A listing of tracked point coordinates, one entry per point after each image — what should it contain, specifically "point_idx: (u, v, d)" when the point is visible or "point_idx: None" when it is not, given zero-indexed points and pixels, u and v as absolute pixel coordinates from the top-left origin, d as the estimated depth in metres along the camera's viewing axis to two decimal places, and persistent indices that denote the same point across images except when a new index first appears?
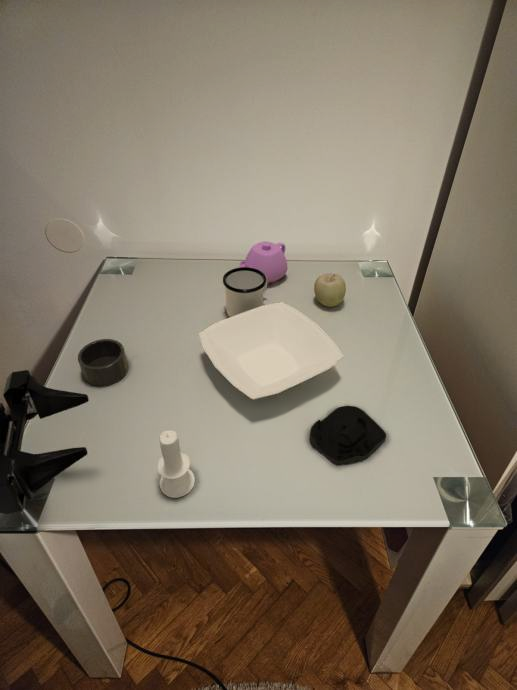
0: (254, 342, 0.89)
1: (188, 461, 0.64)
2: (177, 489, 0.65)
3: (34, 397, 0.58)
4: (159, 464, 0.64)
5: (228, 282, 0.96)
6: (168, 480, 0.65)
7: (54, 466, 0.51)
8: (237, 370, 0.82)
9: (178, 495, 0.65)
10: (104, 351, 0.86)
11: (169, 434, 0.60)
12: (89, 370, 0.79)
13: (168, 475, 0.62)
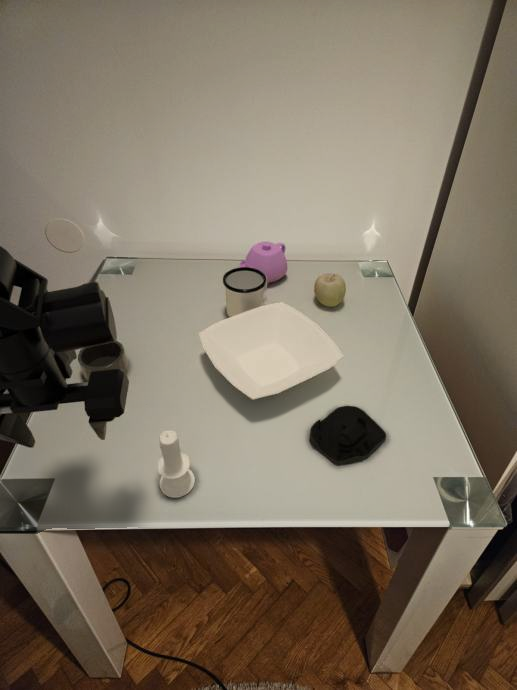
0: (254, 342, 0.89)
1: (188, 461, 0.64)
2: (177, 489, 0.65)
3: None
4: (159, 464, 0.64)
5: (228, 282, 0.96)
6: (168, 480, 0.65)
7: None
8: (237, 370, 0.82)
9: (178, 495, 0.65)
10: (104, 351, 0.86)
11: (169, 434, 0.60)
12: (89, 370, 0.79)
13: (168, 475, 0.62)
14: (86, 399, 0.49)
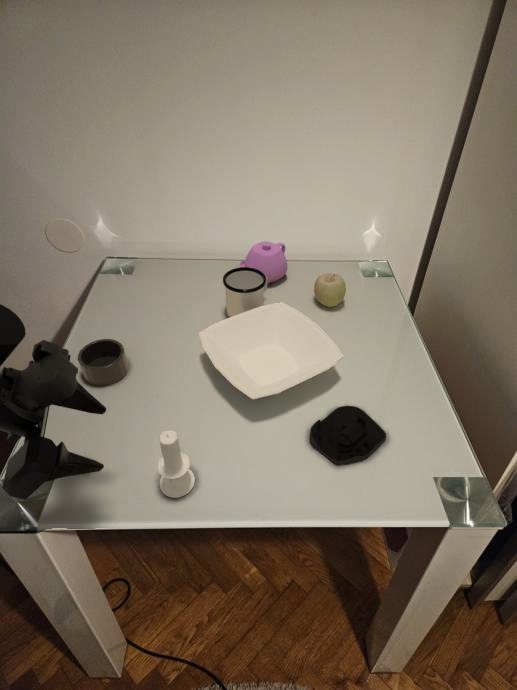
0: (254, 342, 0.89)
1: (188, 461, 0.64)
2: (177, 489, 0.65)
3: None
4: (159, 464, 0.64)
5: (228, 282, 0.96)
6: (168, 480, 0.65)
7: (72, 469, 0.50)
8: (237, 370, 0.82)
9: (178, 495, 0.65)
10: (104, 351, 0.86)
11: (169, 434, 0.60)
12: (89, 370, 0.79)
13: (168, 475, 0.62)
14: (8, 462, 0.47)
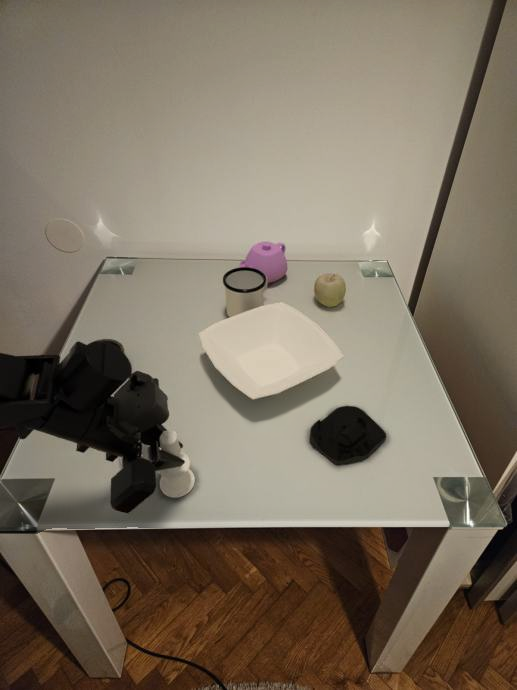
0: (254, 342, 0.89)
1: (188, 461, 0.64)
2: (177, 489, 0.65)
3: None
4: None
5: (228, 282, 0.96)
6: (168, 480, 0.65)
7: (161, 464, 0.59)
8: (237, 370, 0.82)
9: (178, 495, 0.65)
10: None
11: (169, 434, 0.60)
12: None
13: (168, 475, 0.62)
14: (111, 480, 0.54)
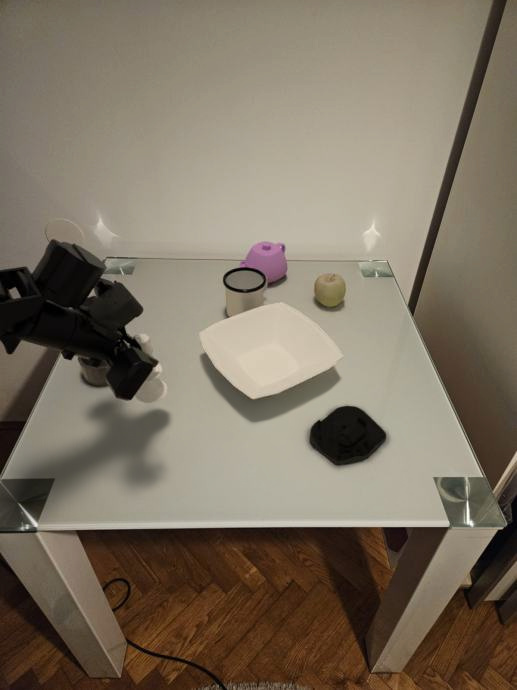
0: (254, 342, 0.89)
1: (159, 365, 0.70)
2: (155, 393, 0.70)
3: None
4: None
5: (228, 282, 0.96)
6: (144, 388, 0.70)
7: None
8: (237, 370, 0.82)
9: (157, 399, 0.70)
10: None
11: (140, 336, 0.65)
12: (89, 370, 0.79)
13: None
14: (105, 377, 0.57)
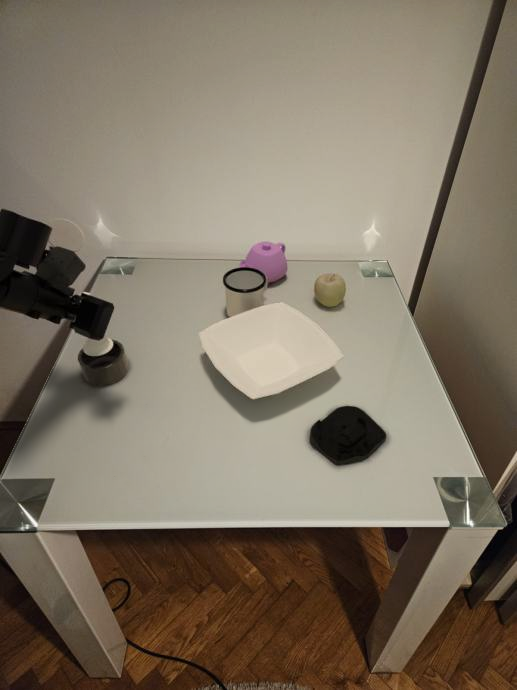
0: (254, 342, 0.89)
1: None
2: (105, 345, 0.79)
3: None
4: None
5: (228, 282, 0.96)
6: (94, 343, 0.78)
7: None
8: (237, 370, 0.82)
9: (108, 349, 0.80)
10: None
11: None
12: (89, 370, 0.79)
13: None
14: (73, 326, 0.66)
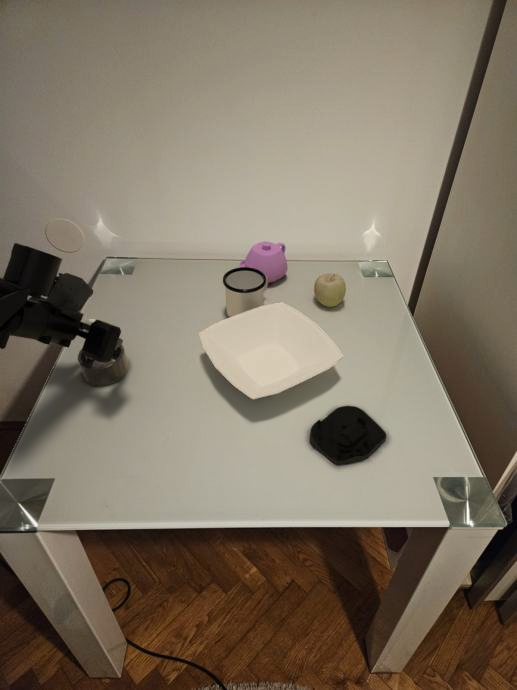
0: (254, 342, 0.89)
1: None
2: None
3: None
4: None
5: (228, 282, 0.96)
6: None
7: None
8: (237, 370, 0.82)
9: None
10: None
11: (89, 321, 0.77)
12: (89, 370, 0.79)
13: None
14: (82, 350, 0.69)
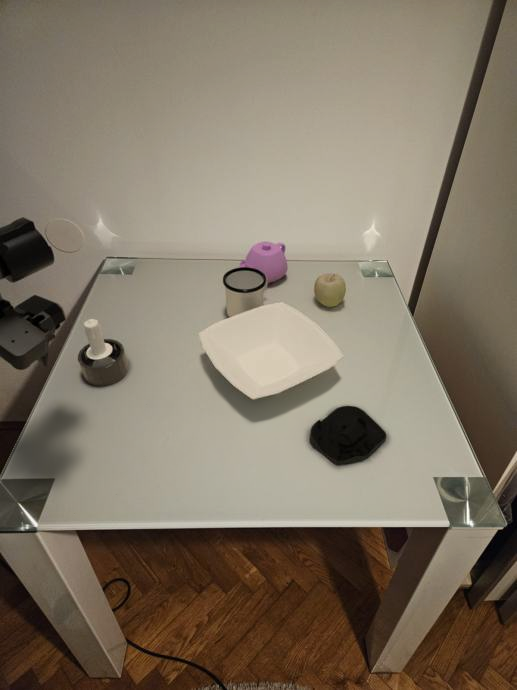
0: (254, 342, 0.89)
1: (107, 343, 0.83)
2: None
3: None
4: (89, 356, 0.80)
5: (228, 282, 0.96)
6: None
7: None
8: (237, 370, 0.82)
9: None
10: None
11: (89, 321, 0.77)
12: (89, 370, 0.79)
13: (103, 356, 0.80)
14: None
